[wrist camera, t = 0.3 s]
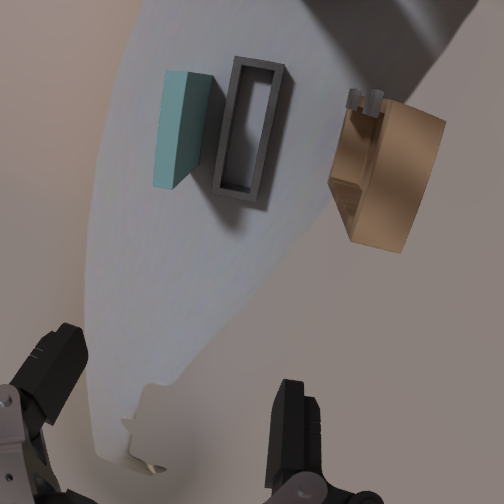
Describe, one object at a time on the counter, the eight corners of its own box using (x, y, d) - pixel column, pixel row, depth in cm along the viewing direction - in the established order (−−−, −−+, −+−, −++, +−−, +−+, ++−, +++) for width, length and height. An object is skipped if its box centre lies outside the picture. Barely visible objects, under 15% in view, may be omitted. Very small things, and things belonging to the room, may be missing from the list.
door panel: (196, 73, 29) (166, 69, 21) (212, 75, 29) (187, 71, 21) (183, 161, 34) (152, 186, 26) (198, 164, 34) (172, 189, 26)
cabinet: (345, 88, 28) (386, 89, 16) (386, 101, 28) (448, 114, 16) (322, 181, 34) (342, 239, 21) (361, 191, 34) (400, 253, 21)
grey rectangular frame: (237, 57, 28) (234, 55, 26) (284, 66, 28) (284, 64, 26) (214, 187, 35) (211, 193, 33) (257, 196, 35) (255, 202, 33)
